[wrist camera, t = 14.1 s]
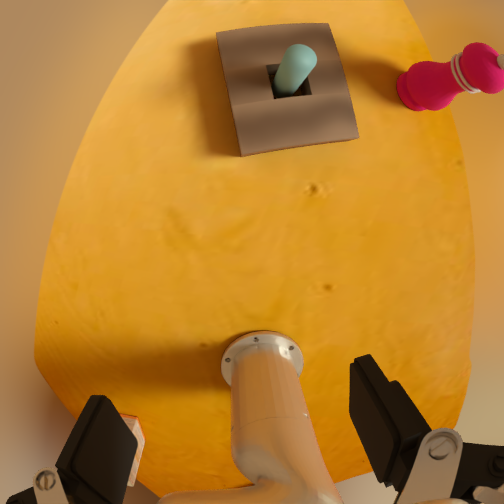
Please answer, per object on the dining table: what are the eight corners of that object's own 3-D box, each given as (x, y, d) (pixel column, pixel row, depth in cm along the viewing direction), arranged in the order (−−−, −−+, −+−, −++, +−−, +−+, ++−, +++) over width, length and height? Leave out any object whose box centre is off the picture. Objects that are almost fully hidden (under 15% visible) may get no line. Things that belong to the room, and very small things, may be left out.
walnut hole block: (347, 141, 34) (359, 137, 30) (241, 157, 34) (241, 154, 30) (320, 35, 29) (328, 23, 26) (217, 45, 29) (216, 32, 26)
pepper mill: (384, 86, 32) (480, 43, 12) (407, 62, 30) (496, 20, 11) (416, 123, 33) (520, 108, 14) (437, 98, 32) (531, 76, 13)
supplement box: (116, 412, 44) (96, 461, 32) (138, 416, 44) (121, 467, 32) (125, 436, 46) (110, 482, 34) (146, 440, 47) (134, 487, 34)
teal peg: (296, 98, 32) (320, 70, 21) (273, 101, 32) (288, 72, 21) (291, 77, 31) (312, 43, 21) (268, 80, 31) (281, 45, 21)
